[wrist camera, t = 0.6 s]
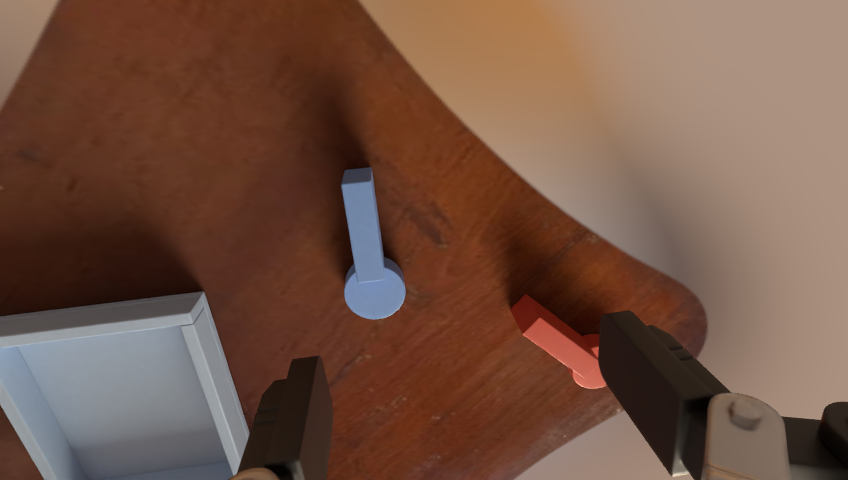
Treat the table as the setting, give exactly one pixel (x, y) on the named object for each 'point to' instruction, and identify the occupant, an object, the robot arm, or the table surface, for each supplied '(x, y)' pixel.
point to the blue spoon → (368, 252)
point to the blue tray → (123, 391)
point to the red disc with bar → (560, 341)
